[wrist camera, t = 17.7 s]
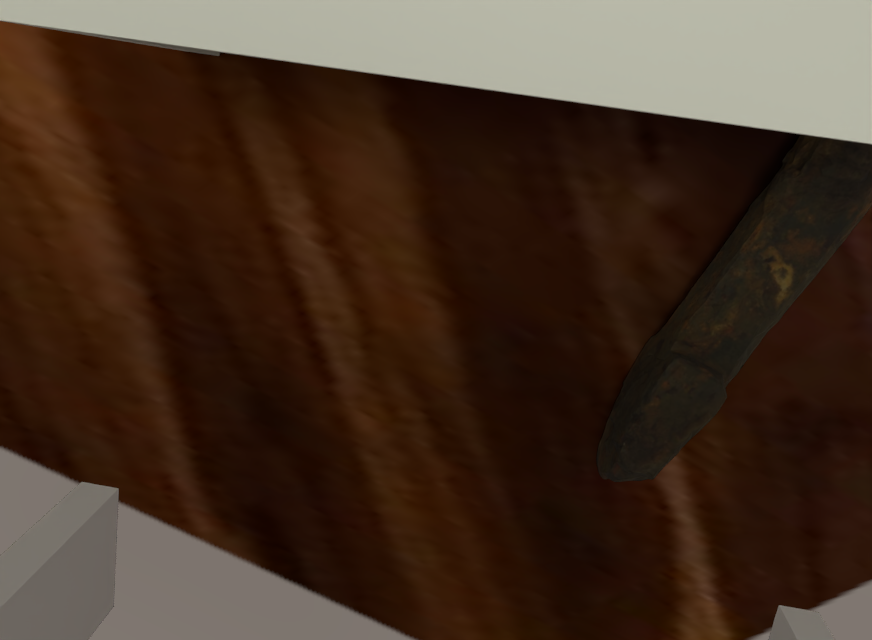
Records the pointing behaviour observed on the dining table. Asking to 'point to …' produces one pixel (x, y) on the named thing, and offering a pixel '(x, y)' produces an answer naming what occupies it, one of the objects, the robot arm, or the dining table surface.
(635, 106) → the low shelf
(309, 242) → the dining table surface
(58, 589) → the robot arm
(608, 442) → the hand tool
